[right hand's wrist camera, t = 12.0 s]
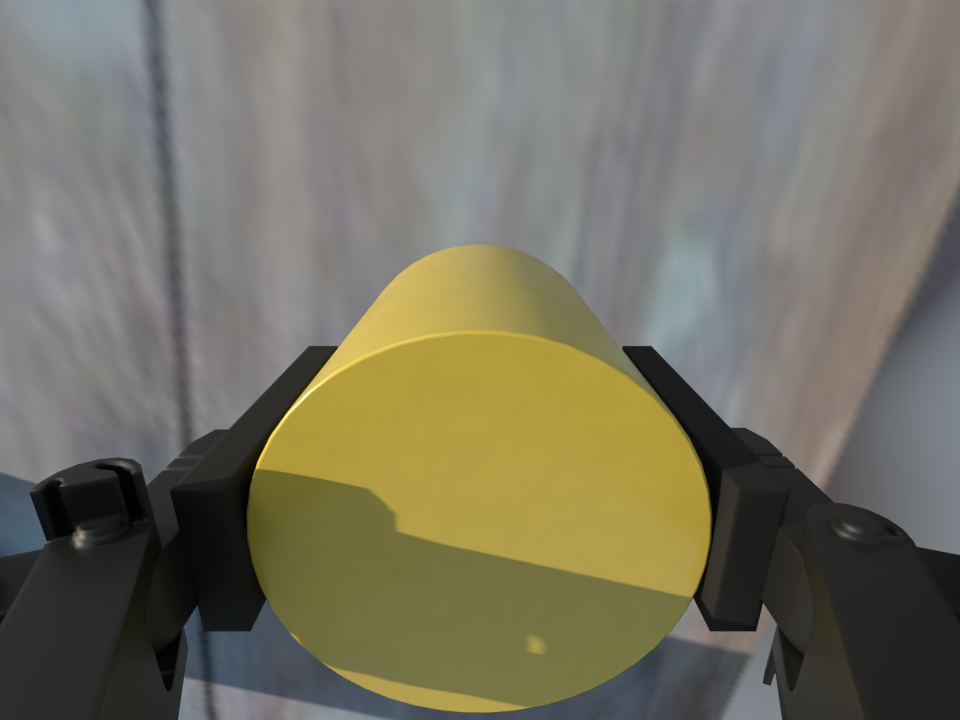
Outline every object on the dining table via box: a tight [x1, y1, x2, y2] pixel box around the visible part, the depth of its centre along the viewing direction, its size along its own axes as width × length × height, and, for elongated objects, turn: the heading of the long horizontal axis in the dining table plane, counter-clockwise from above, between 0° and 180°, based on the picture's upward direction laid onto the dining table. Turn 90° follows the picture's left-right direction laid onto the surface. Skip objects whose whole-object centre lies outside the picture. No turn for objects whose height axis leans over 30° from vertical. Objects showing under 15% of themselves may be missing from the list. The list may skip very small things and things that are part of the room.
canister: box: [247, 245, 712, 713], centre depth 12 cm, size 8×8×9 cm
